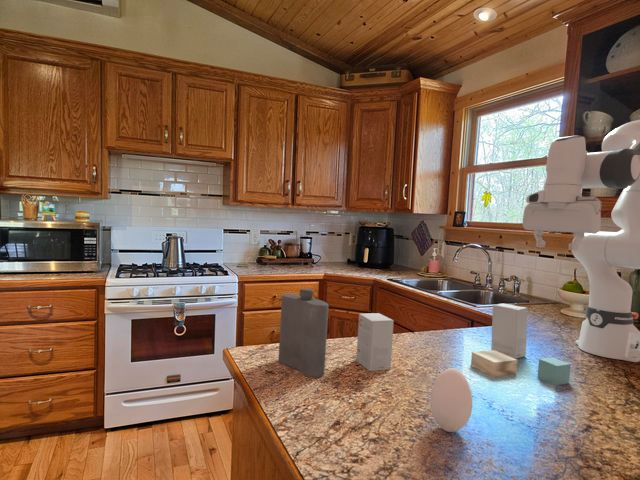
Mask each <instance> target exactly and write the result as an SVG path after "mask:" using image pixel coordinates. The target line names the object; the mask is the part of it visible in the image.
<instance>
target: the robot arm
mask: <svg viewBox="0 0 640 480" xmlns="http://www.w3.org/2000/svg"><path fill="white" fill-rule="evenodd" d="M586 149H587V147H586V137H585V136H582V135H571V136H562V137H558V138H555V139H553V140H552V141H551V143H550V146H549V149H548V153H547V160H546V165H545V172H546V179H545V182H544V184H543V189H541V190H538V191H536V192H534V193H530V194H528V195H527V196H526V199H525V202H526V203H527V205H526V206H525V207H524V210H523V216H522V223H521V224H522V227H523V229H524V230H528V231H533V236H534V238H535V241H536V243H535V244H536V245H535V247H536V248H537V247H538V248H545V247H546V240H543V237H542V236H543V235H544V232H546V231H547V232H562V233H573V237H574V238H573V239H572V242H569V243H568V251H571V253H572V255H573V257H574V258H575V259H576V260H577V261H578V262H579V263H580V264H581V265H582V267H583V268H584V270H585V272H586V275H587V277H588V284H589V294H588V296H589V297H588V305H587V306H586V309H585V317H586V318H585V319H584V320H583V321H582V323H581V326H580V332H579V337H578V339H576V340H575V341H574V342H575V344H576V345H577V347H578V349H580V350H582V351H583V352H586V353H588V354H592V355H595V356H598V357H602V358H608V359H614V360H621V361H627V362H633V363H639V362H640V330H639V329H638V328H637V327H636V326H635V325H634V319H635V320H637V319H639V313H638V312H633V311H631V310H632V303H633V302H632V301H633V293H634V292H633V288H632V286H631V284H630V283H629V282H627V280H624V278H621V277H620V276H619V274H618V272H617V269H616V268H618V267H619V268H624V269H625V268H626V269H632V270H640V119H637V120H634V121H633V120H632V121H629V122H626V123H624V124H622V125H620V126H618V127H616V128H614V129H613V130H612V131H610V132H609V133H608V134H607V135H606V136H605V137H604V138H603V140H602V142H601V151H596V152H589V151H587V150H586ZM583 189H621V190H622V189H623V190H622V192H621V193H620V195H619V197H618V198H617V201H616V203H615V205H614V207H613V208H612V211H611V214H610V215H611V219H612V222H613V223H614V224H615V225H616V226H617V227H618V228H620V230H618V231H604V230H601V229H602V228H601V225H602V217H601V216H602V215H601V210H602V200H600V198H598V197H596V196H593V195H591V196H583V195H582V194H583Z"/></svg>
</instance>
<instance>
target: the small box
mask: <svg viewBox="0 0 640 480" xmlns="http://www.w3.org/2000/svg"><path fill="white" fill-rule="evenodd" d="M394 322H395V321H394V319H392V318H389V317H388V316H385V315H384V314H381V313H379V312H377V313H373V312H371V313H369V312H368V313H359V314H358V328H357V329H358V330H357V342H356V343H357V344H356V356H355V360H356V362H358V363H359V364H360V365H361V366H363V367H364V368H365V369H366V370H367V371H369V372H375V371H386V370H391V369H392V368H391V367H392V366H391V365H392V354H393V353H392V351H393V350H392V349H393V339H394V338H393V335H394V334H393V333H394V324H395V323H394Z"/></svg>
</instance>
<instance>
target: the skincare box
mask: <svg viewBox="0 0 640 480" xmlns="http://www.w3.org/2000/svg"><path fill="white" fill-rule="evenodd" d="M491 321H492V323H491V324H492V325H491V343H490V344H491V346H490V347H491V349H490V350H495V351H498V352H500V353H502V354H505V355H507V356H509V357H512V358H514V359H516V360H517V359H519V358H524V357H526V354H527V352H526V351H527V332H528V331H527V328H528V307H526V306H519V305H514V304H513V305H512V304H509V303H497V304H493V305H492V318H491Z"/></svg>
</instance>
